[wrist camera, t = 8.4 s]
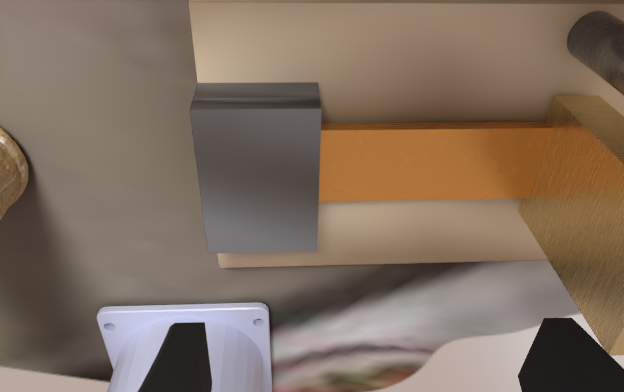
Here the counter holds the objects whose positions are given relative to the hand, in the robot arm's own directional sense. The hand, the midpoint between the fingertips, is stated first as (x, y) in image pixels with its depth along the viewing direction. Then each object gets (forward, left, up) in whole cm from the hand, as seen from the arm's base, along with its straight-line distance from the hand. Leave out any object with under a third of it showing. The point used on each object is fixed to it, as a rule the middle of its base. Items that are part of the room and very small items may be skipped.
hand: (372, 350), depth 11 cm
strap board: (-1, -5, -10) cm, 12 cm away
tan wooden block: (-1, -4, -9) cm, 10 cm away
